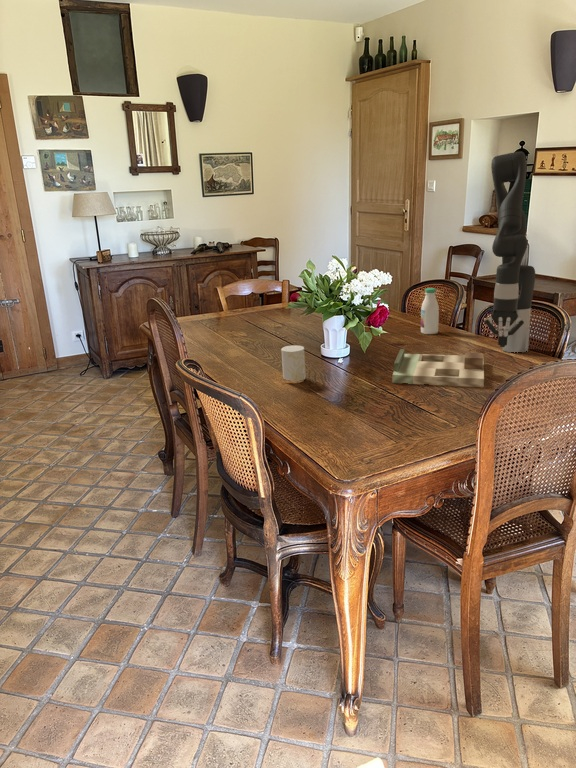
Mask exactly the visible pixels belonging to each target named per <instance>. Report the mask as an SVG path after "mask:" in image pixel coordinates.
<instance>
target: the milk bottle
mask: <svg viewBox="0 0 576 768" xmlns="http://www.w3.org/2000/svg"><path fill="white" fill-rule="evenodd" d="M436 293H437V288H434V287H426V288H425V289H424V294H425V296H424V299H423V301H422V303H421V308H420V333H421V334H423V335H424V334H425V335H436V334H438V333H439V319H440V315H439V312H440V308H439V302H438V301H437V298H436Z"/></svg>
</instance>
